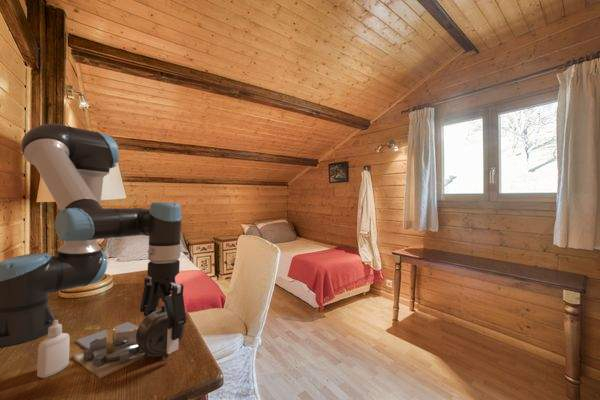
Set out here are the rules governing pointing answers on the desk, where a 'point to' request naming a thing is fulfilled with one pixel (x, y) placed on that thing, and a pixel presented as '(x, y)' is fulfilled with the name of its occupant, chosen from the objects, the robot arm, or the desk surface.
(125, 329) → the pad
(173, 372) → the desk surface
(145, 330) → the alarm clock
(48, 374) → the eye dropper bottle
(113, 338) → the sprocket
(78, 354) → the plate
